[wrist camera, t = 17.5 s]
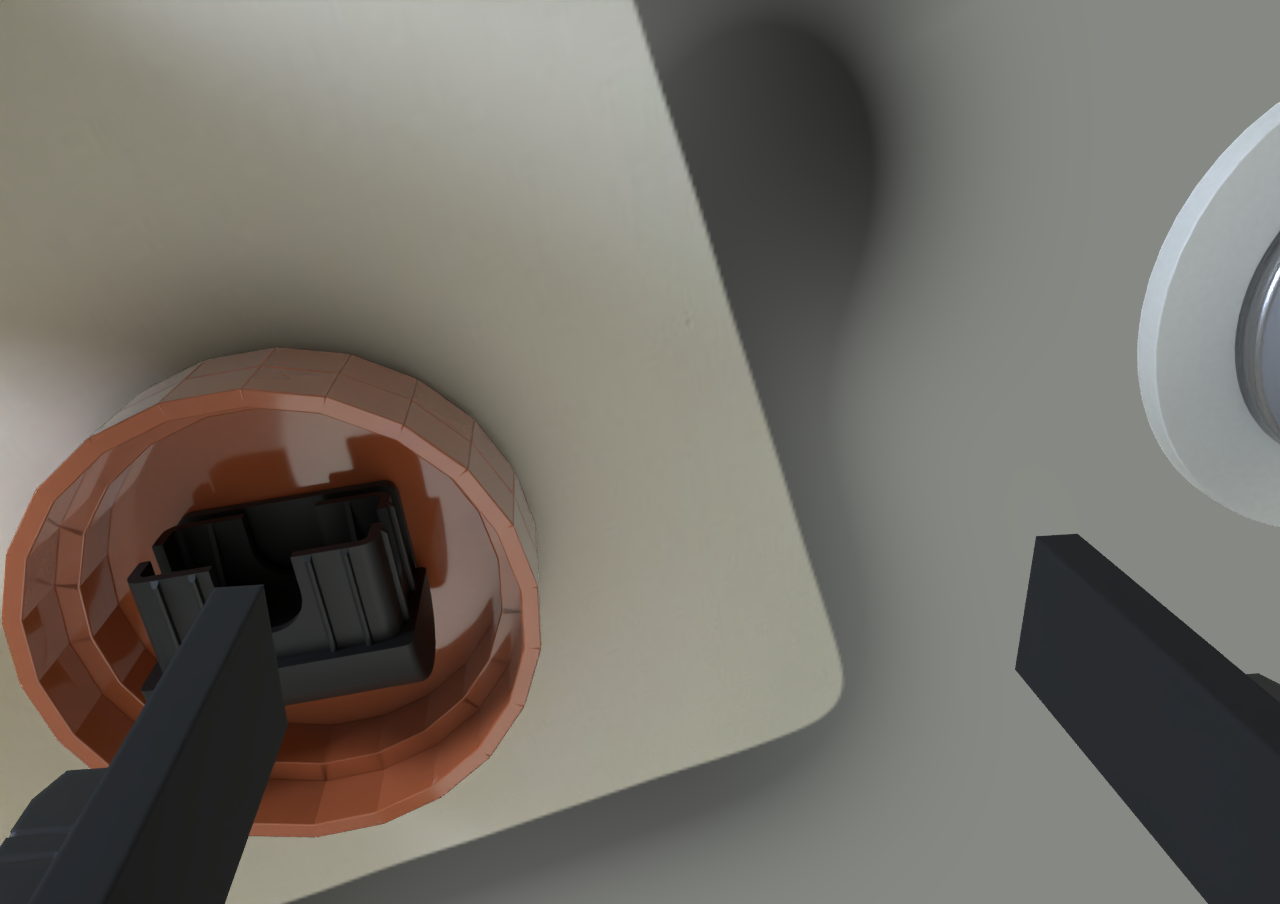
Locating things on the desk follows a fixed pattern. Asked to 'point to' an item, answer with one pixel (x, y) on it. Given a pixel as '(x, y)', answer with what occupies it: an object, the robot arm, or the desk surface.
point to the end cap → (302, 587)
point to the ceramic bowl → (264, 469)
